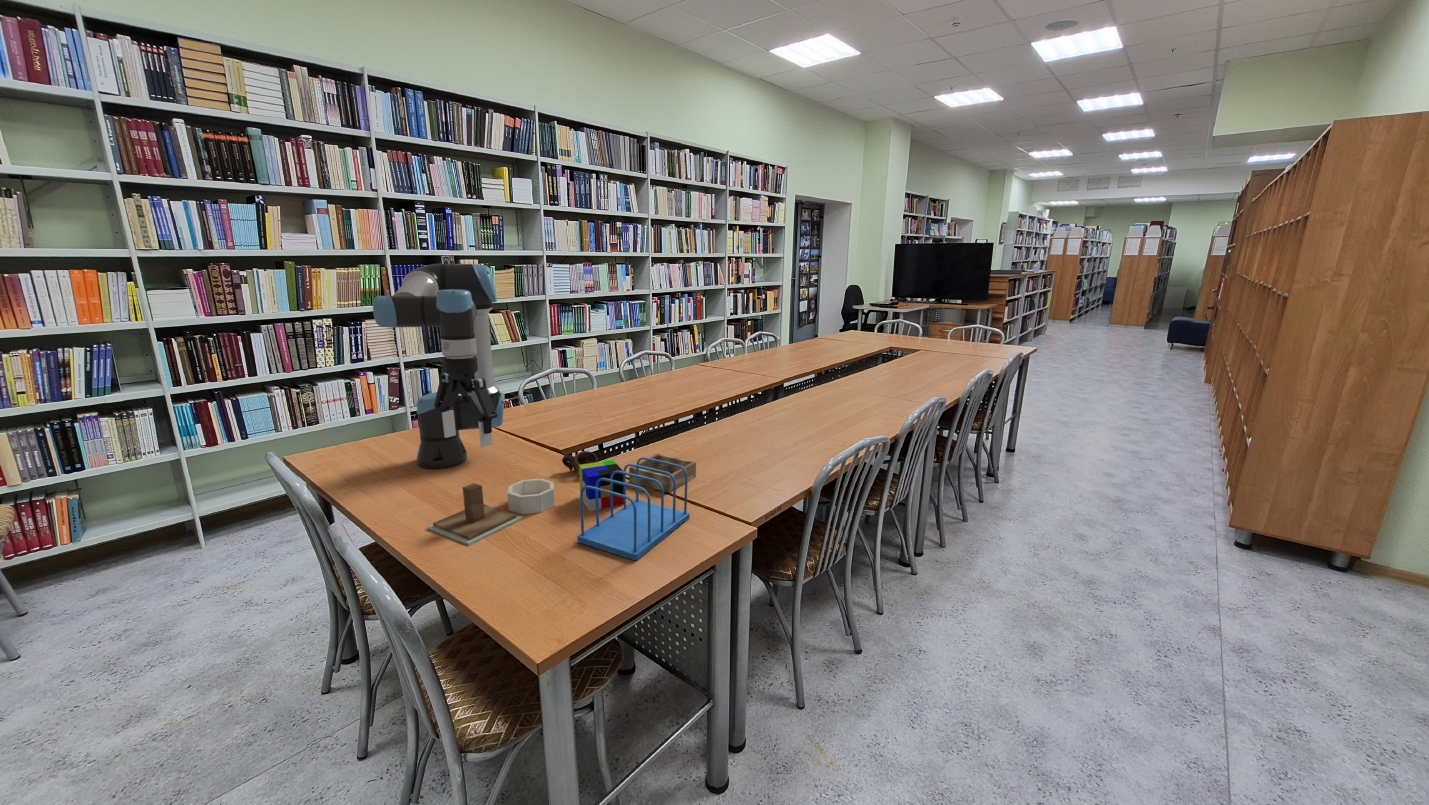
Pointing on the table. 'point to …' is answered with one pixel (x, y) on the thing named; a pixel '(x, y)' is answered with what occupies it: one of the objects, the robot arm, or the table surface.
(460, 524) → the lid
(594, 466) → the puzzle toy
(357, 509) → the table surface
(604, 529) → the file sorter
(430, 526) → the mat
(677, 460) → the tray
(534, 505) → the bowl
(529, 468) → the table surface
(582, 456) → the animal figurine
